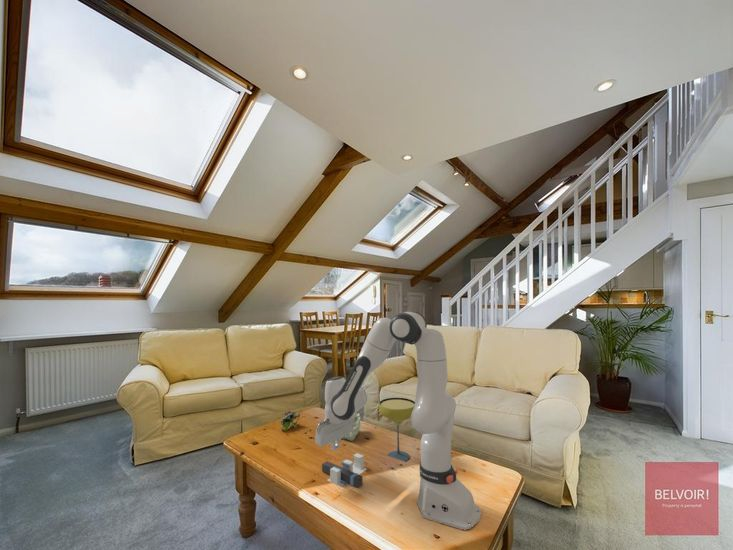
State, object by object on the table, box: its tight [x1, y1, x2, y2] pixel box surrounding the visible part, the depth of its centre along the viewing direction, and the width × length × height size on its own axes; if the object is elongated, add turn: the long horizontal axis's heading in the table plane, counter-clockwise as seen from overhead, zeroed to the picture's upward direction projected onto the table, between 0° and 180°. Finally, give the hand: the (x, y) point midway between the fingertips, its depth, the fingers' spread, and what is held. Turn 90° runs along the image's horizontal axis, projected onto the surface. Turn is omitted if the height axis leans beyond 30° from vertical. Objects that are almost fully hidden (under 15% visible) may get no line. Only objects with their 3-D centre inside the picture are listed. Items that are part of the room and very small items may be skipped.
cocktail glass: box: [378, 397, 415, 462], centre depth 158 cm, size 18×18×25 cm
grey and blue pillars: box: [327, 453, 368, 488], centre depth 140 cm, size 8×17×6 cm, turn 142°
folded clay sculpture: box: [341, 412, 361, 442], centre depth 182 cm, size 18×13×16 cm
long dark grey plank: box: [321, 461, 364, 488], centre depth 137 cm, size 20×3×3 cm, turn 52°
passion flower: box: [279, 410, 301, 432], centre depth 193 cm, size 11×11×12 cm
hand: (335, 449), depth 140 cm, fingers closed
